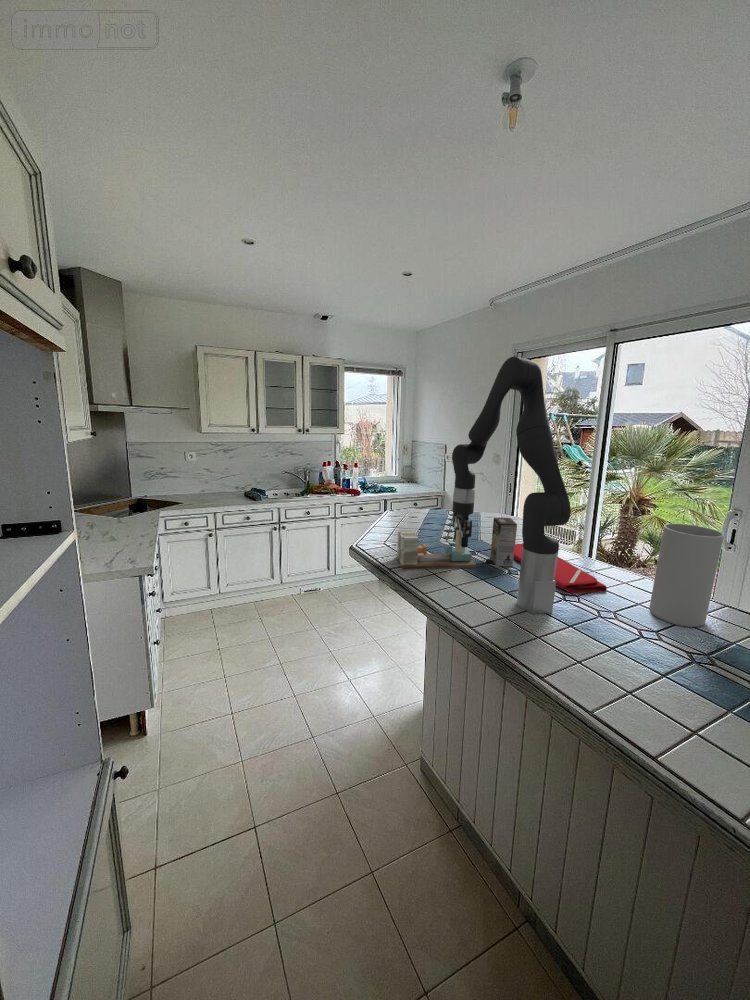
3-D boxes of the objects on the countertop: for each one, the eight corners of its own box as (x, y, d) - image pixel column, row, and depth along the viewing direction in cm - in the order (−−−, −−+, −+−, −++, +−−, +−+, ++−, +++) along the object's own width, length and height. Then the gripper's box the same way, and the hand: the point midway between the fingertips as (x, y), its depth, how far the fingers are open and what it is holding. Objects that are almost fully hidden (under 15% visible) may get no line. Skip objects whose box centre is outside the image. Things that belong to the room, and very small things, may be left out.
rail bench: (476, 567, 143) (479, 538, 141) (402, 569, 140) (403, 539, 138) (465, 555, 155) (467, 528, 153) (396, 557, 152) (397, 529, 149)
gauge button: (426, 555, 145) (427, 546, 144) (410, 555, 144) (410, 547, 143) (424, 552, 148) (424, 544, 147) (408, 552, 147) (408, 544, 146)
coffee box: (489, 557, 154) (493, 517, 151) (506, 557, 154) (510, 517, 151) (495, 566, 145) (499, 523, 142) (513, 566, 145) (518, 524, 142)
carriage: (471, 561, 146) (473, 533, 144) (447, 561, 145) (449, 533, 142) (465, 555, 152) (467, 528, 149) (442, 555, 151) (444, 528, 148)
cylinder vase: (638, 609, 114) (653, 525, 109) (668, 603, 119) (683, 522, 114) (684, 631, 103) (703, 538, 98) (715, 624, 107) (735, 534, 102)
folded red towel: (536, 550, 166) (537, 541, 165) (607, 593, 126) (609, 582, 125) (500, 551, 163) (501, 542, 162) (562, 595, 124) (563, 584, 123)
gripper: (481, 504, 137) (477, 549, 141) (466, 496, 151) (463, 537, 155) (460, 504, 136) (456, 550, 140) (447, 496, 150) (444, 537, 154)
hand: (460, 543), depth 147 cm, fingers open, 7 cm apart
